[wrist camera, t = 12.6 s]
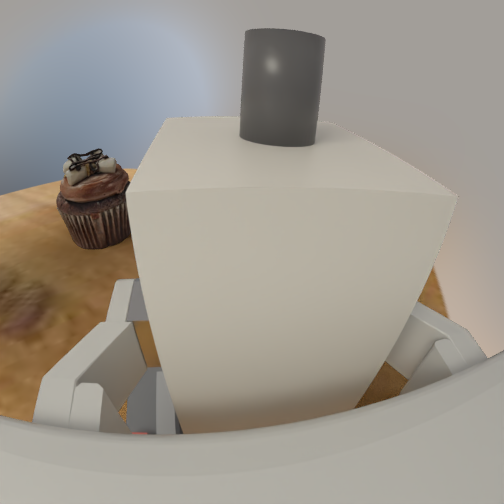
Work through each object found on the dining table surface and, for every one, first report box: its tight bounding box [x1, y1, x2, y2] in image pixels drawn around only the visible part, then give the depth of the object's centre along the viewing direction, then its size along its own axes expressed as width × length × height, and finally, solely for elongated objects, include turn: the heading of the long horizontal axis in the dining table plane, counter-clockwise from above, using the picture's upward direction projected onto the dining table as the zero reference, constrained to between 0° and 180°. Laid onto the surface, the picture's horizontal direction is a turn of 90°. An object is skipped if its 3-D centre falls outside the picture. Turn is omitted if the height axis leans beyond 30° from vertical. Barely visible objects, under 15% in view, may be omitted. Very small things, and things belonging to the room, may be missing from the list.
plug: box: [126, 28, 459, 434], centre depth 8 cm, size 5×4×12 cm
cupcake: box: [57, 149, 131, 249], centre depth 31 cm, size 10×10×10 cm
